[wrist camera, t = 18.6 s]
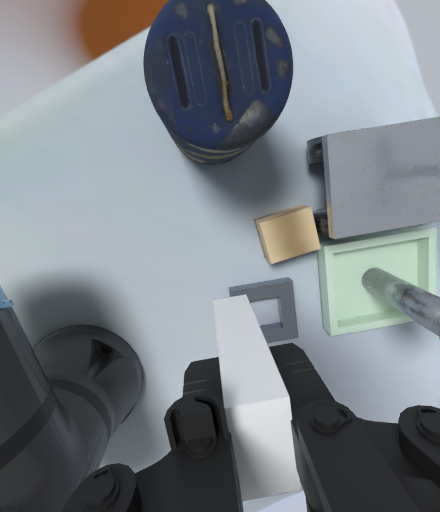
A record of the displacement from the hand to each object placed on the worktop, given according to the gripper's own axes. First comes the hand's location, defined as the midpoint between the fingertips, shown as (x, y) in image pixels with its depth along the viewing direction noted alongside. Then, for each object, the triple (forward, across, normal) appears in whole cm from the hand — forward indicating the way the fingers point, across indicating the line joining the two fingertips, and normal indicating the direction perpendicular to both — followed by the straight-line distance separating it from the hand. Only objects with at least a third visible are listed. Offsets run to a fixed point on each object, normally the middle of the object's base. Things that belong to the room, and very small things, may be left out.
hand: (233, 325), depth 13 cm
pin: (+24, +20, -9) cm, 32 cm away
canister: (+25, +2, +13) cm, 28 cm away
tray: (+24, +20, -9) cm, 33 cm away
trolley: (+24, +18, +4) cm, 31 cm away
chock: (+25, +9, -1) cm, 26 cm away
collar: (+24, +5, -11) cm, 27 cm away
